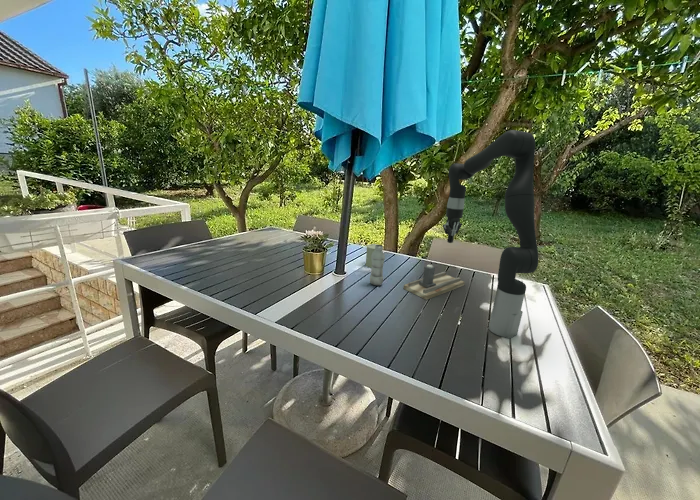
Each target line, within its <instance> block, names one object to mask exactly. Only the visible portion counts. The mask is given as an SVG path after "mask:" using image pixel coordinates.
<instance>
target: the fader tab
mask: <svg viewBox="0 0 700 500" xmlns="http://www.w3.org/2000/svg"><path fill="white" fill-rule="evenodd" d="M435 270H436V267H435V266H434V265H432V264H427V265H426V266H424V268H423V276H422V278H423V281H420V282H419V285H422V286H424V287H426V288H429V287H432V286H435V285H436V283H433V278H434V275H435Z"/></svg>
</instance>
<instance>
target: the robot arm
mask: <svg viewBox="0 0 700 500" xmlns="http://www.w3.org/2000/svg"><path fill="white" fill-rule="evenodd" d="M535 154H536V139H535V136H534V135H533V134H532V133H530V132H527V131H523V130H515V129H510V130H507V131H505V132H503V134H501V135H500V136H498V137H497V138H496V139H495V140H494V141H493V142H491V143H490V144H489V145H488V146H486V148H484V149H482V150H481V151H480V152H479V153H476V154H475V155H473V156H471V157H469V158H467V159H466V160H465V161H464V163H458V162H457V163H456V162H455V163H452V164H451V165H450V167H449V169H448V180H449V193H448V194H449V195H448V200H447V204H446V212H445V217H447V219H446V223H443V224H442V227H443V228H442V229H443V230H444V233H445V234H446V235H447V243H449V244H452V243H454V239H455V236H456V234H458V233H459V231H460V229H461V227H462V226H463V223H462V222H460V221H461V219H462V218H463V216H464V215H463V214H464V208H465V199H466V191H467V188H466V185H464V184H461V183H460V180H463V181H465V180H469V179H471V178H472V177H473V176H474V175H476V174H477V173H479V172H481V171H483V170H485V169H487V168H488V167H489V166H490V165H491V164H492V162H493V160H494V159H497V158H501V157H506V158H507V157H508V158H511V159H512V158H514V162H515V170H514V175H513V177H512V179H511V181H510V182H509V184H508V186H507V187H506V189H505V192H504V211H505V214H506V216H507V218H508V220H509V221H510V223H511V224H512V226H513V227H514V229H515V230H516V232H517V235H518V240H519V241H518V242H519V246H510V247H509V246H508V247H506V248H504V249H503V250H502V252H501V255H500V258H499V264H498V265H499V267H498V273H497V287H496V291H495V297H494V300H493V305H492V309H491V315H490V318H489V324H488V330H489V331H490V332H492V333H493V334H495V335H496V336H498V337H503V338H507V339H511V338H514V337H515V336H517V335H518V333H519V329H520V324H521V319H522V318H523V317H522V316H523V310H522V308H523V303H524V299H525V295H526V291H527V285H526V284H525V283H524V282H523V281H522V280H520V279H516V275H517V274H533V273H535V272H536V271H537V269H538V266H539V251H538V250H539V249H538V243H537V236H536V226H535V193H534V166H535Z"/></svg>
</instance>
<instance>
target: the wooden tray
mask: <svg viewBox="0 0 700 500" xmlns="http://www.w3.org/2000/svg"><path fill="white" fill-rule="evenodd" d="M446 273H447V272H446V271H442V272H439V273H436V274H435V273H434V278H433V283H436V285H435V286H432V287H429V288H426V287H424V286H422V285H419V282H420V281H423V277H422V278H419V279H417V280H414V281H413V280H412V281H411V282H410V281H409V282H408V283H406V284H403V287H402V288H403V290H405V291H407V292H409V293H411V294H413V295H415V296H418V297H420V298H422V299H424V300H426V301H427V300H429V299H432V298H435V297H437V296H438V297H439V296H440V295H443V294H446V293H448V292H450V291H453V290H455V289H459V288H462V287H464V286H465V283H466V282H465V281H463V280H462V278H461V277H459V276H458V277H454V276H451V275H449V274H446Z"/></svg>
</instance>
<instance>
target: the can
mask: <svg viewBox="0 0 700 500" xmlns="http://www.w3.org/2000/svg"><path fill="white" fill-rule="evenodd" d="M375 245H379V244H376V243H371V244H370V243H368V244H367V245H366V253H365V255H366V256H365V266H366V267H368V268H370V269H372V260H371V255H372V253H373V252H374V251H375Z"/></svg>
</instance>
